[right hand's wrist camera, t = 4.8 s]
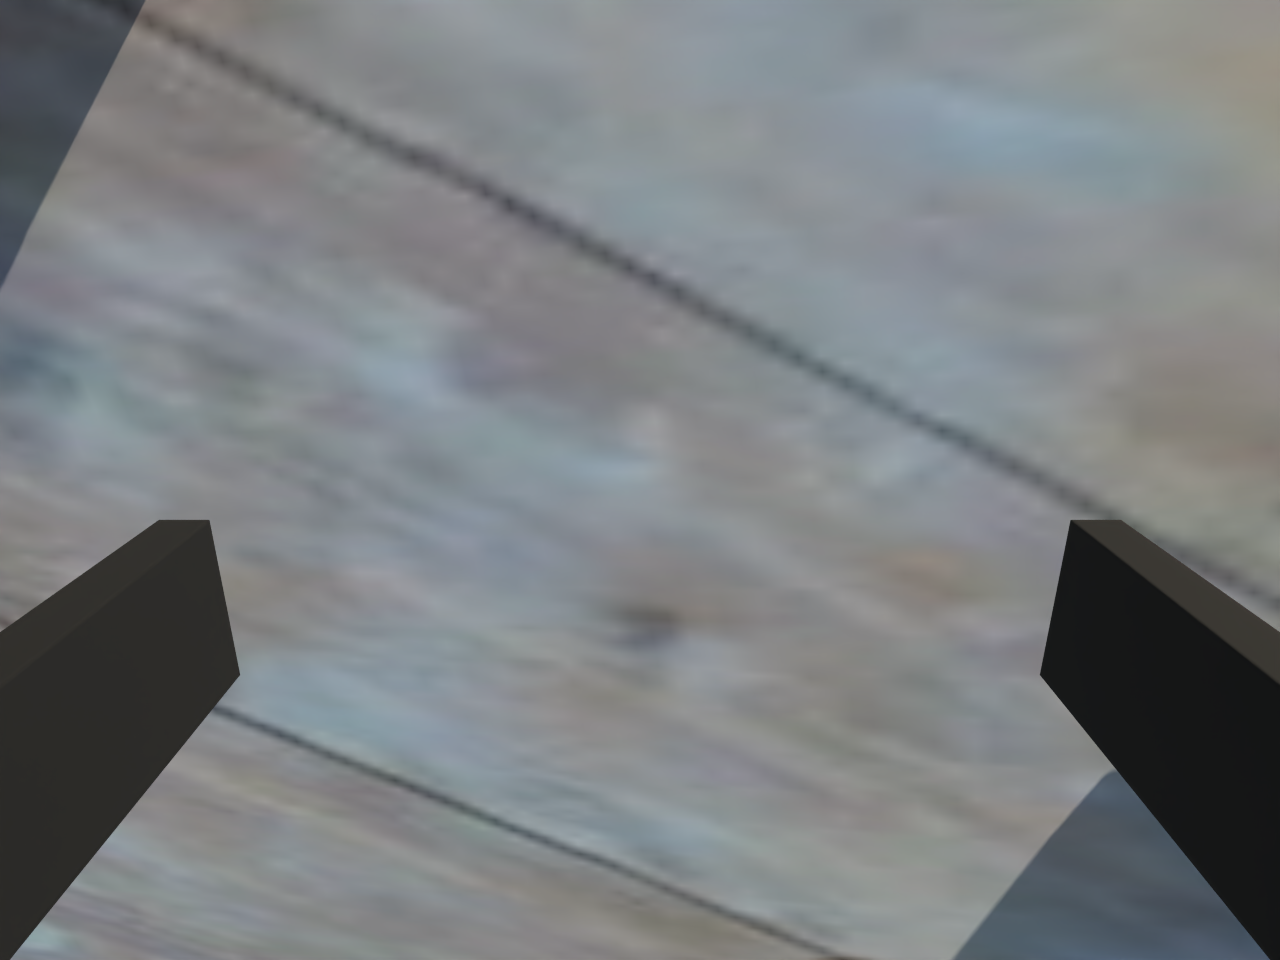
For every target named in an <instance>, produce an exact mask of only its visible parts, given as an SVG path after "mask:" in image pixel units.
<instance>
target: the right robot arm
mask: <svg viewBox="0 0 1280 960" xmlns="http://www.w3.org/2000/svg"><path fill="white" fill-rule="evenodd" d="M239 676H240V672H239V667H238V662H237V657H236V652H235V647H234V642H233V637H232V632H231V627H230V622H229V617H228V612H227V607H226V602H225V597H224V592H223V586H222V581H221V576H220V571H219V566H218V561H217V556H216V551H215V546H214V541H213V536H212V531H211V526H210V521H209V520H158V521H157V522H156V523H154V524H153V525H151V526H150V527H148V528H147V529H146V530H144V531H143V532H141V533H140V534H139V535H137V536H136V537H134V538H133V539H132V540H130V541H129V542H127V543H126V544H124V545H123V546H122V547H120V548H119V549H117V550H116V551H115V552H113V553H112V554H110V555H109V556H107V557H106V558H105V559H103V560H102V561H100V562H99V563H98V564H96V565H95V566H93V567H92V568H90V569H89V570H88V571H86V572H85V573H83V574H82V575H81V576H79V577H78V578H76V579H75V580H73V581H72V582H71V583H69V584H68V585H66V586H65V587H64V588H62V589H61V590H59V591H58V592H57V593H55V594H54V595H52V596H51V597H49V598H48V599H47V600H45V601H44V602H42V603H41V604H40V605H38V606H37V607H35V608H34V609H32V610H31V611H30V612H28V613H27V614H25V615H24V616H23V617H21V618H20V619H18V620H17V621H15V622H14V623H13V624H11V625H10V626H8V627H7V628H6V629H4V630H3V631H1V632H0V960H10V959H11V958H12V956H13V955H14V954H15V953H16V951H17V950H18V949H19V948H20V946H21V945H22V944H23V943H24V941H25V940H26V939H27V938H28V937H29V935H30V934H31V933H32V932H33V930H34V929H35V928H36V927H37V925H38V924H39V923H40V922H41V920H42V919H43V918H44V917H45V915H46V914H47V913H48V912H49V911H50V909H51V908H52V907H53V906H54V904H55V903H56V902H57V901H58V899H59V898H60V897H61V896H62V894H63V893H64V892H65V891H66V890H67V888H68V887H69V886H70V885H71V883H72V882H73V881H74V880H75V878H76V877H77V876H78V875H79V873H80V872H81V871H82V870H83V868H84V867H85V866H86V865H87V864H88V862H89V861H90V860H91V859H92V857H93V856H94V855H95V854H96V852H97V851H98V850H99V849H100V847H101V846H102V845H103V844H104V843H105V841H106V840H107V839H108V838H109V836H110V835H111V834H112V833H113V831H114V830H115V829H116V828H117V826H118V825H119V824H120V823H121V821H122V820H123V819H124V818H125V817H126V815H127V814H128V813H129V812H130V810H131V809H132V808H133V807H134V805H135V804H136V803H137V802H138V800H139V799H140V798H141V797H142V795H143V794H144V793H145V792H146V791H147V789H148V788H149V787H150V786H151V784H152V783H153V782H154V781H155V779H156V778H157V777H158V776H159V774H160V773H161V772H162V771H163V770H164V768H165V767H166V766H167V765H168V763H169V762H170V761H171V760H172V758H173V757H174V756H175V755H176V753H177V752H178V751H179V750H180V748H181V747H182V746H183V745H184V744H185V742H186V741H187V740H188V739H189V737H190V736H191V735H192V734H193V732H194V731H195V730H196V729H197V727H198V726H199V725H200V724H201V723H202V721H203V720H204V719H205V718H206V716H207V715H208V714H209V713H210V711H211V710H212V709H213V708H214V706H215V705H216V704H217V703H218V701H219V700H220V699H221V698H222V697H223V695H224V694H225V693H226V692H227V690H228V689H229V688H230V687H231V685H232V684H233V683H234V682H235V680H236V679H237V678H238V677H239ZM1040 676H1041V677H1042V678H1043V679H1044V680H1045V682H1046V683H1047V684H1048V685H1049V687H1050V688H1051V689H1052V690H1053V692H1054V693H1055V694H1056V695H1057V697H1058V698H1059V699H1060V700H1061V701H1062V703H1063V704H1064V705H1065V706H1066V708H1067V709H1068V710H1069V711H1070V713H1071V714H1072V715H1073V716H1074V718H1075V719H1076V720H1077V721H1078V723H1079V724H1080V725H1081V726H1082V727H1083V729H1084V730H1085V731H1086V732H1087V734H1088V735H1089V736H1090V737H1091V739H1092V740H1093V741H1094V742H1095V744H1096V745H1097V746H1098V747H1099V748H1100V750H1101V751H1102V752H1103V753H1104V755H1105V756H1106V757H1107V758H1108V760H1109V761H1110V762H1111V763H1112V765H1113V766H1114V767H1115V768H1116V770H1117V771H1118V772H1119V773H1120V774H1121V776H1122V777H1123V778H1124V779H1125V781H1126V782H1127V783H1128V784H1129V786H1130V787H1131V788H1132V789H1133V791H1134V792H1135V793H1136V794H1137V796H1138V797H1139V798H1140V799H1141V800H1142V802H1143V803H1144V804H1145V805H1146V807H1147V808H1148V809H1149V810H1150V812H1151V813H1152V814H1153V815H1154V817H1155V818H1156V819H1157V820H1158V821H1159V823H1160V824H1161V825H1162V826H1163V828H1164V829H1165V830H1166V831H1167V833H1168V834H1169V835H1170V836H1171V838H1172V839H1173V840H1174V841H1175V843H1176V844H1177V845H1178V846H1179V847H1180V849H1181V850H1182V851H1183V852H1184V854H1185V855H1186V856H1187V857H1188V859H1189V860H1190V861H1191V862H1192V864H1193V865H1194V866H1195V867H1196V868H1197V870H1198V871H1199V872H1200V873H1201V875H1202V876H1203V877H1204V878H1205V880H1206V881H1207V882H1208V883H1209V885H1210V886H1211V887H1212V888H1213V890H1214V891H1215V892H1216V893H1217V894H1218V896H1219V897H1220V898H1221V899H1222V901H1223V902H1224V903H1225V904H1226V906H1227V907H1228V908H1229V909H1230V911H1231V912H1232V913H1233V914H1234V915H1235V917H1236V918H1237V919H1238V920H1239V922H1240V923H1241V924H1242V925H1243V927H1244V928H1245V929H1246V930H1247V932H1248V933H1249V934H1250V935H1251V937H1252V938H1253V939H1254V940H1255V941H1256V943H1257V944H1258V945H1259V946H1260V948H1261V949H1262V950H1263V951H1264V953H1265V954H1266V955H1267V956H1268V958H1269V959H1270V960H1280V632H1279V631H1277V630H1276V629H1274V628H1273V627H1272V626H1270V625H1269V624H1267V623H1266V622H1265V621H1263V620H1262V619H1260V618H1259V617H1257V616H1256V615H1255V614H1253V613H1252V612H1250V611H1249V610H1248V609H1246V608H1245V607H1243V606H1242V605H1240V604H1239V603H1238V602H1236V601H1235V600H1233V599H1232V598H1231V597H1229V596H1228V595H1226V594H1225V593H1223V592H1222V591H1221V590H1219V589H1218V588H1216V587H1215V586H1214V585H1212V584H1211V583H1209V582H1208V581H1207V580H1205V579H1204V578H1202V577H1201V576H1199V575H1198V574H1197V573H1195V572H1194V571H1192V570H1191V569H1190V568H1188V567H1187V566H1185V565H1184V564H1182V563H1181V562H1180V561H1178V560H1177V559H1175V558H1174V557H1173V556H1171V555H1170V554H1168V553H1167V552H1165V551H1164V550H1163V549H1161V548H1160V547H1158V546H1157V545H1156V544H1154V543H1153V542H1151V541H1150V540H1148V539H1147V538H1146V537H1144V536H1143V535H1141V534H1140V533H1139V532H1137V531H1136V530H1134V529H1133V528H1132V527H1130V526H1129V525H1127V524H1126V523H1124V522H1123V521H1122V520H1071V521H1070V526H1069V531H1068V536H1067V541H1066V546H1065V551H1064V556H1063V561H1062V566H1061V571H1060V576H1059V581H1058V586H1057V592H1056V597H1055V602H1054V607H1053V612H1052V617H1051V622H1050V627H1049V632H1048V637H1047V642H1046V647H1045V652H1044V657H1043V662H1042V667H1041V672H1040Z"/></svg>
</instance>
